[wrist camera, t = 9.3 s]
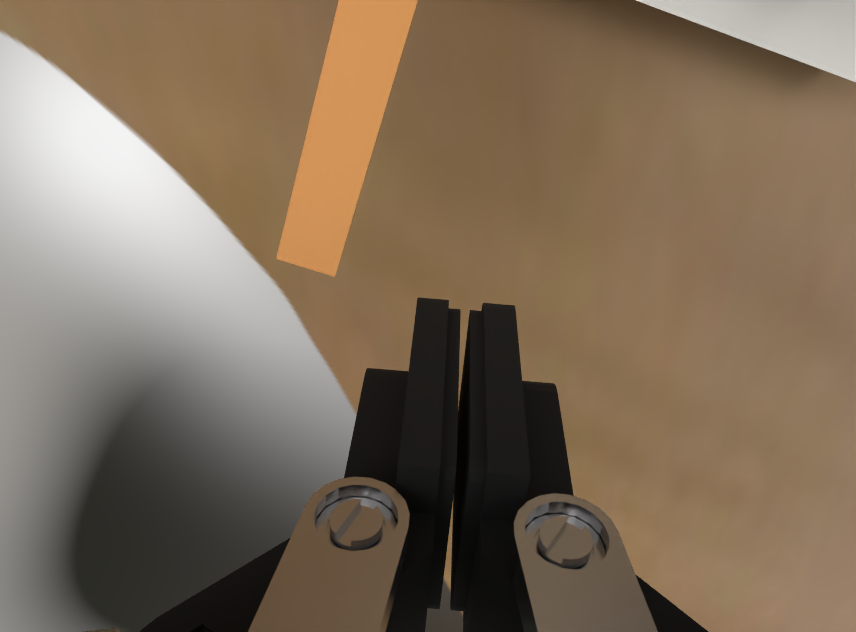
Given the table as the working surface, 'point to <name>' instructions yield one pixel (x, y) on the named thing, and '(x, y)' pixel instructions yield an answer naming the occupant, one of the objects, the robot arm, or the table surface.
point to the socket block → (782, 27)
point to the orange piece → (343, 129)
